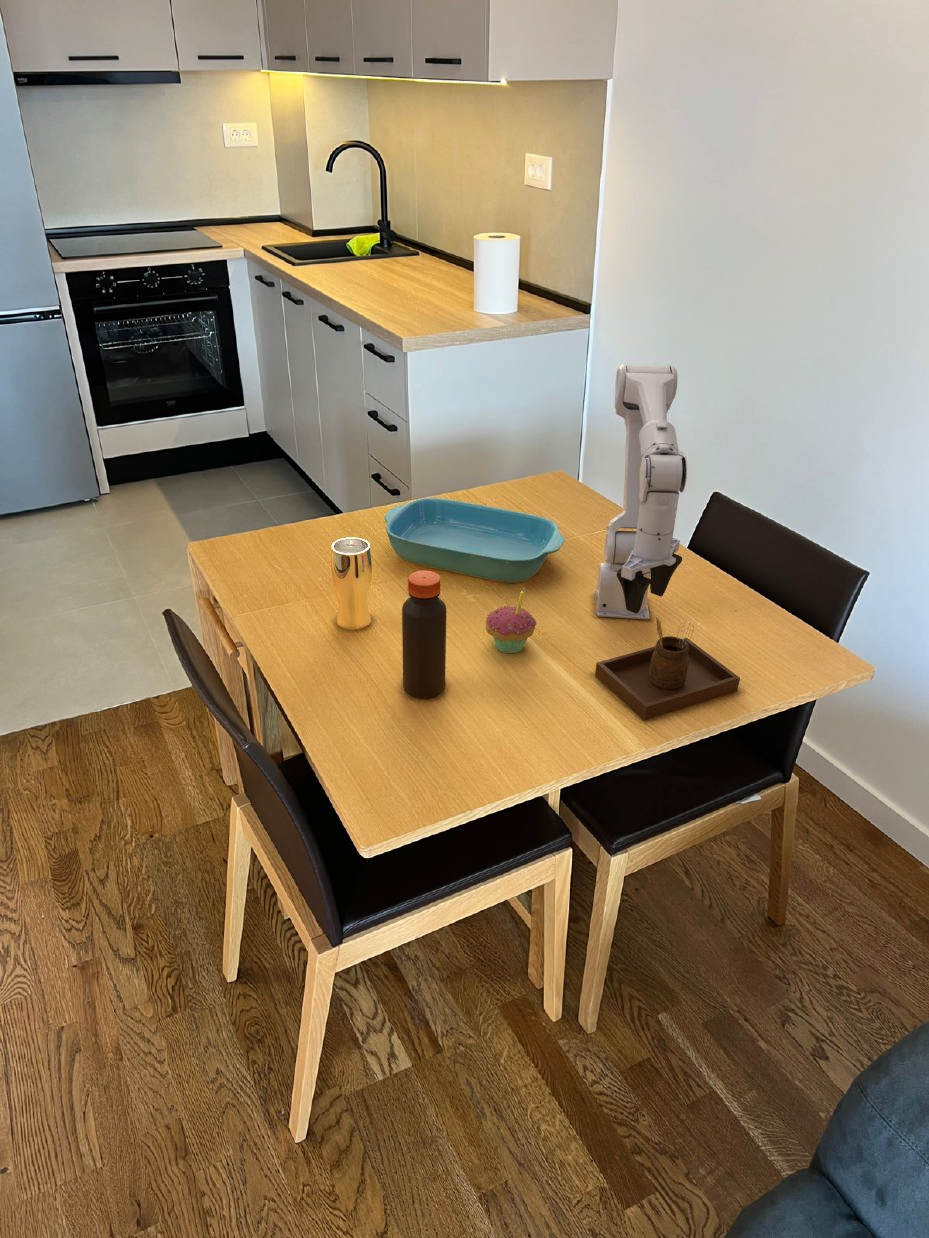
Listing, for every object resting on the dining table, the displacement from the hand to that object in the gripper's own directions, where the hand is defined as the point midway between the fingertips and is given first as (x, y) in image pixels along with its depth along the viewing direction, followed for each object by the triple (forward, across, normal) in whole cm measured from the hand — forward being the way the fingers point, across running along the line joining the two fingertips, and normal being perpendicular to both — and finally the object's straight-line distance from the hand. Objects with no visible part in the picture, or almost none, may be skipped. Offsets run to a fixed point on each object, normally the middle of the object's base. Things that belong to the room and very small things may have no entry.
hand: (644, 602), depth 155 cm
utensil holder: (+10, -4, -8) cm, 13 cm away
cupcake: (+11, -13, +18) cm, 24 cm away
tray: (+10, -4, -8) cm, 14 cm away
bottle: (+11, -32, +20) cm, 39 cm away
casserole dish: (+11, +8, +44) cm, 47 cm away
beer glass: (+11, -25, +43) cm, 51 cm away
